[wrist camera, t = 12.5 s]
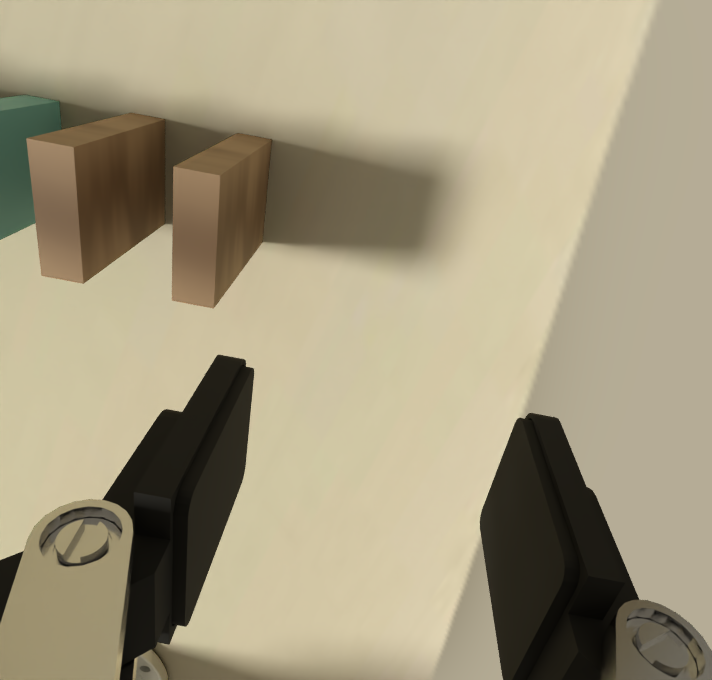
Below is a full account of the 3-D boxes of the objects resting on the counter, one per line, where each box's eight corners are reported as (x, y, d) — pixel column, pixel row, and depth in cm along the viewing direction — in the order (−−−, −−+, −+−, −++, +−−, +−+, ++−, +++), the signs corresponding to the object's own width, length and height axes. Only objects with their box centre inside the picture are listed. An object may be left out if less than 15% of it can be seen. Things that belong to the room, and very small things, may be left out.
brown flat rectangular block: (262, 242, 28) (213, 308, 21) (231, 236, 28) (171, 300, 21) (271, 139, 26) (220, 175, 19) (237, 133, 26) (173, 166, 19)
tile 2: (164, 223, 28) (83, 283, 21) (133, 217, 28) (41, 275, 21) (165, 119, 26) (73, 147, 19) (131, 112, 26) (26, 138, 19)
